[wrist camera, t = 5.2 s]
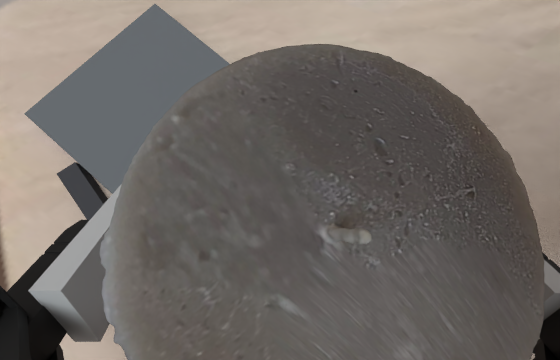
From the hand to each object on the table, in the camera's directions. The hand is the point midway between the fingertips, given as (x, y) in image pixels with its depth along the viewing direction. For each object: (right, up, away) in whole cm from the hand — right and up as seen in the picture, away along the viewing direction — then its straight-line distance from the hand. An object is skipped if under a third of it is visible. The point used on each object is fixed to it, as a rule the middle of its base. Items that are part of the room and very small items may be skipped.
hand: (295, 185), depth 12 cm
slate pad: (-10, +6, +7) cm, 14 cm away
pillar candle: (0, -3, +6) cm, 7 cm away
